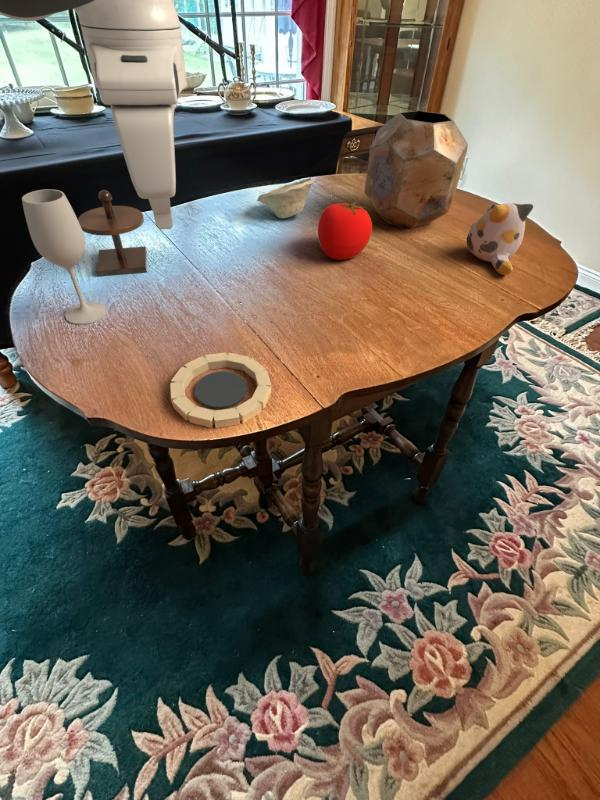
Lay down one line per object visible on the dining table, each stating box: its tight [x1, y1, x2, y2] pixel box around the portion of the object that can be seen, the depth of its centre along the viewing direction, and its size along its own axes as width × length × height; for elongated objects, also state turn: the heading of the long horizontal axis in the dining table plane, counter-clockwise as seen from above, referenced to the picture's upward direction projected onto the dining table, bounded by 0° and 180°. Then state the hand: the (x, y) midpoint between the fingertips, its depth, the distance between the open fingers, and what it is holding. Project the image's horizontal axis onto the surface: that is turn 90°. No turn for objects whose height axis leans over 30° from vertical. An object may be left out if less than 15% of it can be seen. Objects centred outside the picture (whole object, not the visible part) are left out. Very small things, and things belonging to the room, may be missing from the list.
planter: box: [364, 110, 469, 229], centre depth 110 cm, size 22×24×24 cm
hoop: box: [169, 351, 272, 429], centre depth 66 cm, size 15×15×2 cm
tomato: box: [317, 201, 373, 261], centre depth 98 cm, size 12×14×11 cm
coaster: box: [194, 370, 248, 410], centre depth 67 cm, size 8×8×1 cm
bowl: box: [256, 177, 315, 219], centre depth 113 cm, size 15×14×10 cm
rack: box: [77, 189, 148, 278], centre depth 89 cm, size 13×13×15 cm
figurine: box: [466, 202, 534, 276], centre depth 97 cm, size 12×17×15 cm
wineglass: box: [21, 188, 108, 326], centre depth 73 cm, size 8×8×21 cm
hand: (164, 210), depth 52 cm, fingers open, 8 cm apart
